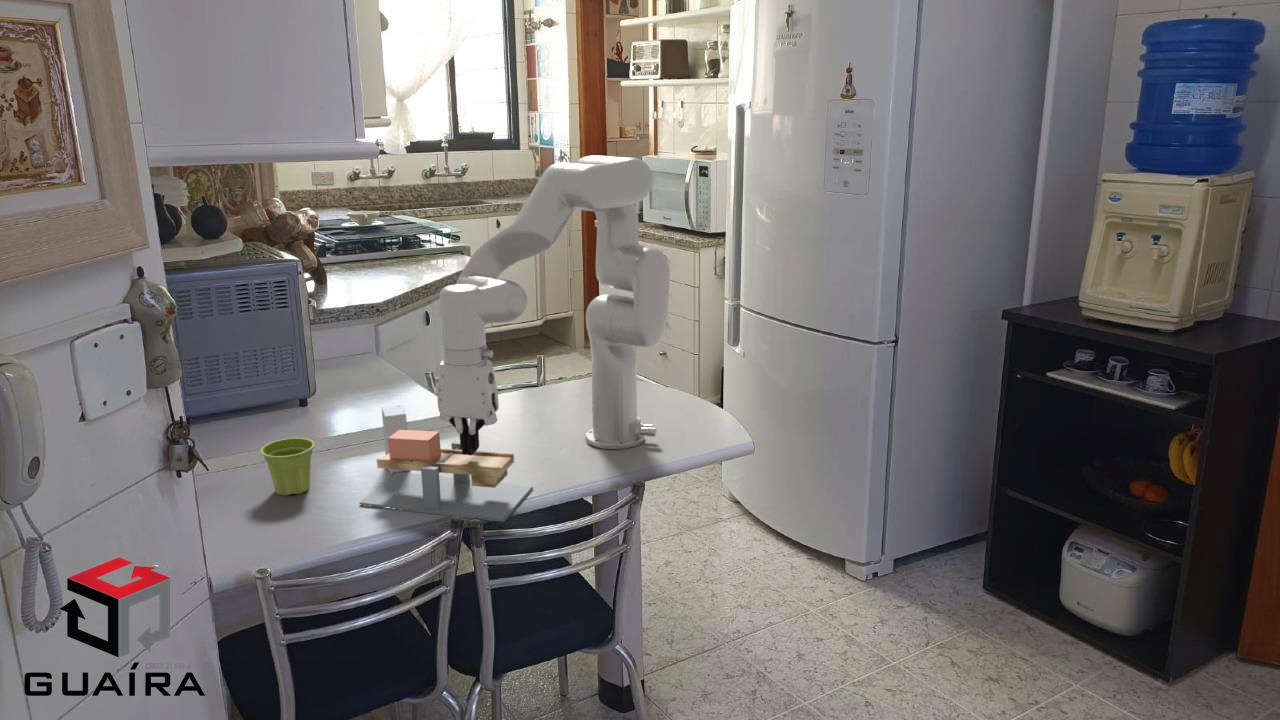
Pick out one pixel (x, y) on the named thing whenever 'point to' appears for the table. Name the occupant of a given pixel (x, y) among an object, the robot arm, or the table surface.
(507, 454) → the beam
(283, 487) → the plant pot
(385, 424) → the skincare box
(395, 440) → the block
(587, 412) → the table surface
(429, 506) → the stand
